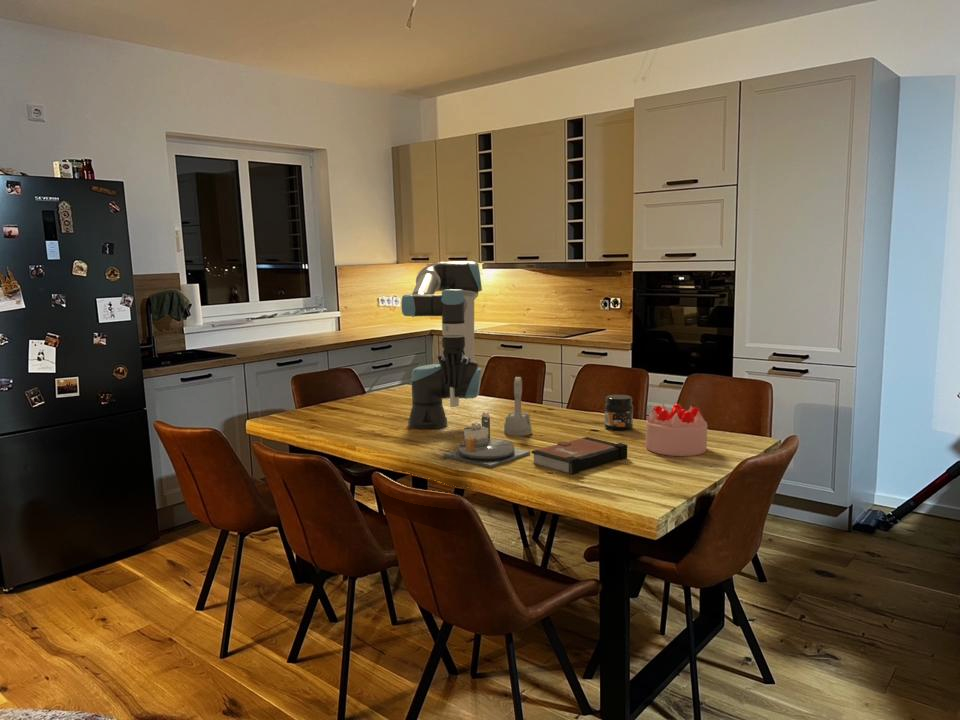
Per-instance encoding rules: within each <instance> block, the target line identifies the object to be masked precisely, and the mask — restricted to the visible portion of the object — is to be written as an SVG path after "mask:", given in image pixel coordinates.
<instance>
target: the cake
mask: <svg viewBox="0 0 960 720" xmlns="http://www.w3.org/2000/svg"><path fill="white" fill-rule="evenodd" d="M702 415H703V414H702V412H701V409H700V408H699V407H697V406H695V407H693V406H692V405H690V406H689V409H688V410H687V409H685V408H683V406H682V405H681V404H680V403H675V404H673V406H672V407H671V410H670V411H669V410H668V409H667V408H666V405H665V404H663V403H662V407H661V405H655V406H654V407H653V408H652V409H651V413H649V415H648V417H647V420H646V421H645V423H646V424H645V428H646V429H645V447H646V449H647V450H648V451H649V452H651V453H655V454H659V455H662V456H663V455H664V456H668V457H669V456H670V457H691V456H692V457H693V456H694V457H695V456H699V455H703V454H705V452H706V451H707V443H708V442H707V441H708V423H707V421H706V420H705V418H704V417H703V416H702Z"/></svg>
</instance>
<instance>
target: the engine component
mask: <svg viewBox="0 0 960 720" xmlns="http://www.w3.org/2000/svg"><path fill="white" fill-rule="evenodd" d="M514 377H515V378H514V381H513V395H514V412H509V413H508V416H507V417H505V423H504V424H503V426H504V427H503V429H504V430H503V432H504V434H505V435H508V436H528V435H530V434H532V422H531V419H530V418H531V417H530V415H531V414H529V413H527V412H522V394H523V380H522V379H523V378H522V377H521V376H514Z"/></svg>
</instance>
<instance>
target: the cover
mask: <svg viewBox="0 0 960 720" xmlns="http://www.w3.org/2000/svg"><path fill="white" fill-rule="evenodd" d="M467 438H475V447H481V446H486V445H488V428H487V427H483V426H482V423H471V426H467V427H465V428H463V442H464V444H465V445H466V439H467Z"/></svg>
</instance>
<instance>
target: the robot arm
mask: <svg viewBox="0 0 960 720" xmlns="http://www.w3.org/2000/svg"><path fill="white" fill-rule="evenodd" d="M480 272H481V271H480V266H479V263H478V262H477V261H468V260H466V261H437V262H433V263H431V264H429V265H426V266H425V267H423V268H422V269H421V270H420V271H419V272H418V274H416V275H417V276H416V279H415V284H416V285H415V286H414V288H413V291H412V293H409V294H403V295H402V297H401V303H400V304H401V313H402V315H403V316H404V317H412V318H414V317H441V334H442V337H441V338H442V340H441V341H442V343H441V344H442V348H443V351H442V354H441V355H437V359H438V361H439V363H438V364H437V363H433V364H425V365H421V366H417V367H414V368H413V370H411V380H410V382H411V409H410V414H409V418H408V420H407V425H408V427H409V428H411V429H417V430H435V429H441V428H445V427H446V426H448V417H447V416H446V412H445V410H444V406H443V399H445V400H446V399H449V407H451V408H455V407H459V406H460V399H465V400H467V399H476V398H477V397H478V396H479V394H480V389H481V388H480V387H481V382H482V372H483V370H482V368H481V367H479V364H478V362H477V360H475V301H476V299H477V298H478V297H479V292H482V291H483V288H482V280H481V273H480ZM436 292H441V294H439V293H438V294H435V293H436Z"/></svg>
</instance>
